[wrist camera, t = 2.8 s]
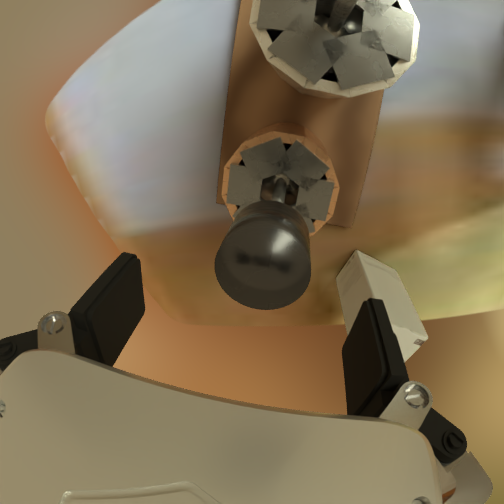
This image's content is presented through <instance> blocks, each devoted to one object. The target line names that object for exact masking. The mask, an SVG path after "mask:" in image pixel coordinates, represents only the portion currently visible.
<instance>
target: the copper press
mask: <svg viewBox="0 0 504 504" xmlns="http://www.w3.org/2000/svg"><path fill="white" fill-rule="evenodd" d="M285 147H287V148H288V149H287V151H286V149H285ZM282 172H283V173H284V174H285V175H287V176H288V177H289V178H290V179H292V180H293V181H294V182H295V183H296V184H298V185H299V189H298V195H297V200H296V204H293V205H289V206H291V207H292V208H294V209H295V210H296V211H297V212H298V213H299V214H300V215H301V216H302V217H303V219H304V220H305V222H306V224H307V227H308V230H309V237H311V236H312V235H314V234H315V233H316V232H317V231H318V230H319V229H320V228H321V227H322V226H323V225H324V224H325V223H326V222H327V221H328V220H329V219H330V218H331V217H332V215H333V213H334V209H335V205H336V201H337V197H338V193H339V189H340V186H339V183H338V180H337V177H336V174H335V171H334V168H333V165H332V162H331V159H330V157H329V155H328V153H327V151H326V149H325V147H324V146H323V144H322V142H321V140H320V139H319V138H317V137H316V136H315V135H314V134H313V133H312V132H311V131H310V130H308V129H307V128H306V127H304V126H303V125H298V124H295V123H288V122H278V123H275V124H272V125H269V126H267V127H265V128H262V129H260V130H258V131H257V132H256V133H254V134H253V135H252V136H251V137H249V138H248V139H247V140H245V141H244V142H243V143H242V144H241V145H240V147H239V148H238V149H237V150H236V152H235V153H234V154H233V156H232V157H231V158H230V160H229V161H228V162H227V164H226V165H225V167H224V174H223V184H222V198H223V200H224V202H225V204H226V206H227V208H228V211H229V213H230V215H231V217H232V219H233V221H234V219H235V217H236V216H237V214H238V213H239V212H240V211H241V210H242V209H243V208H245V207H246V206H248V205H250V204H252V203H254V202H258V201H264V200H263V199H262V198H261V197H260V196H261V189H262V182H263V179H265V178H268V177H270V176H273V175H276V174H279V173H282Z"/></svg>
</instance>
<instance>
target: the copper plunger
mask: <svg viewBox="0 0 504 504" xmlns="http://www.w3.org/2000/svg"><path fill="white" fill-rule="evenodd" d="M285 149H286V151H287V149H288V148H287V147H285ZM298 189H299V185H298V184H296V183H295V182H294V181H293V180H292V179H290V178H289V177H288V176H287V175H285V174H284V173H283V172H282V173H279V174H276V175H273V176H270V177H268V178H265V179H263V182H262V189H261V196H260V197H261V198H262V199H263V200H264V201H258V202H254V203H252V204H250V205H248V206H246V207H245V208H243V209H242V210H241V211H240V212H239V213H238V214H237V216H236V217H235V219H234V221H233V223H232V225H231V227H230V229H229V231H228V232H227V234H226V236H225V238H224V240H223V242H222V244H221V246H220V248H219V250H218V252H217V255H216V258H215V274H216V277H217V280H218V282H219V284H220V286H221V287H222V289H223V290H224V291H225V292H226V293H227V294H228V295H229V296H230V297H231V298H232V299H234V300H235V301H237V302H238V303H240V304H242V305H245V306H247V307H250V308H255V309H261V310H271V309H278V308H282V307H285V306H287V305H289V304H291V303H293V302H294V301H296V300H297V299H298V298H299V297H300V296H301V295H302V294H303V293H304V292H305V290H306V288H307V287H308V284H309V281H310V277H311V261H310V239H309V230H308V227H307V224H306V222H305V220H304V219H303V217H302V216H301V215H300V214H299V213H298V212H297V211H296V210H295V209H294V208H292V207H291V206H289V205H293V204H296V200H297V195H298Z"/></svg>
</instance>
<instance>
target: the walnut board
mask: <svg viewBox="0 0 504 504" xmlns="http://www.w3.org/2000/svg"><path fill="white" fill-rule="evenodd" d="M252 2H253V0H241V4H240V10H239V16H238V22H237V29H236V35H235V42H234V49H233V56H232V63H231V71H230V78H229V86H228V94H227V102H226V111H225V120H224V128H223V138H222V147H221V157H220V167H219V178H218V189H217V200H216V203H218V204H224V205H226V204H225V202H224V200H223V198H222V184H223V174H224V167H225V165H226V164H227V162H228V161H229V160H230V158H231V157H232V156H233V154H234V153H235V152H236V150H237V149H238V148H239V147H240V145H241V144H242V143H243V142H244V141H245V140H247V139H248V138H249V137H251V136H252V135H253V134H254V133H256V132H257V131H258V130H260V129H262V128H265V127H267V126H269V125H272V124H275V123H278V122H288V123H295V124H298V125H303V126H304V127H306V128H307V129H308V130H310V131H311V132H312V133H313V134H314V135H315V136H316V137H317V138H319V139H320V140H321V142H322V144H323V146H324V147H325V149H326V151H327V153H328V155H329V157H330V159H331V162H332V165H333V168H334V171H335V174H336V177H337V180H338V183H339V186H340V189H339V193H338V197H337V201H336V205H335V209H334V213H333V215H332V217H331V218H330V219H329V220H328V221H327V222H326V223H328V224H333V225H337V226H342V227H347V228H352V225H353V221H354V218H355V214H356V211H357V207H358V204H359V200H360V196H361V192H362V188H363V185H364V181H365V177H366V173H367V169H368V164H369V160H370V156H371V152H372V147H373V143H374V138H375V133H376V129H377V124H378V119H379V114H380V108H381V103H382V97H383V92H384V89H381V90H377V91H373V92H369V93H365V94H361V95H357V96H354V97H350V98H332V99H326V98H321V97H315V96H311V95H306V94H302V93H300V92H299V91H297V90H296V89H295V88H293V87H292V86H290V85H289V84H288V83H287V82H285V81H284V80H283V79H281V78H280V76H279V75H278V74H277V73H276V71H275V70H274V69H273V67H272V66H271V65H270V64H269V62H268V61H267V59H266V57H265V55H264V53H263V51H262V49H261V47H260V45H259V43H258V41H257V39H256V37H255V34H254V32H253V31H252V29H251V27H250V25H249V21H250V15H251V8H252Z"/></svg>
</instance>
